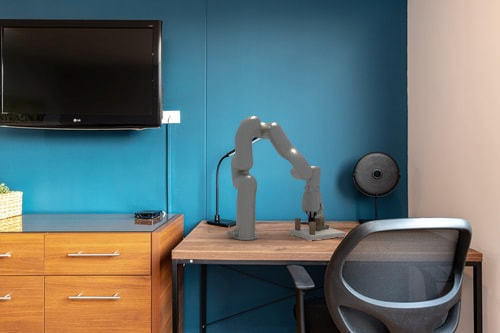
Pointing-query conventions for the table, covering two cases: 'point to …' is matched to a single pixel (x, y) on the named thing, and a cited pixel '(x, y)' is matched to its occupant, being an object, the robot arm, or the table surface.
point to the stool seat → (311, 232)
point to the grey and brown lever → (319, 225)
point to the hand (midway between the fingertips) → (311, 224)
